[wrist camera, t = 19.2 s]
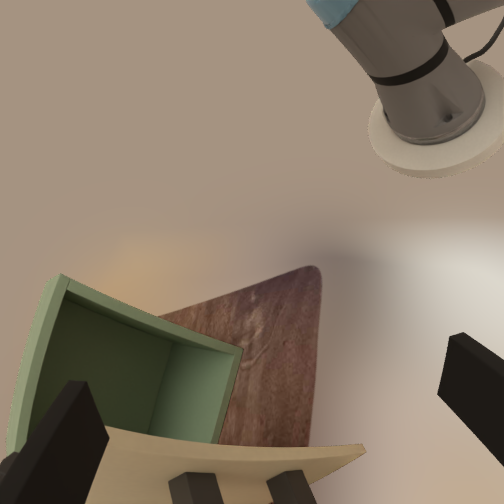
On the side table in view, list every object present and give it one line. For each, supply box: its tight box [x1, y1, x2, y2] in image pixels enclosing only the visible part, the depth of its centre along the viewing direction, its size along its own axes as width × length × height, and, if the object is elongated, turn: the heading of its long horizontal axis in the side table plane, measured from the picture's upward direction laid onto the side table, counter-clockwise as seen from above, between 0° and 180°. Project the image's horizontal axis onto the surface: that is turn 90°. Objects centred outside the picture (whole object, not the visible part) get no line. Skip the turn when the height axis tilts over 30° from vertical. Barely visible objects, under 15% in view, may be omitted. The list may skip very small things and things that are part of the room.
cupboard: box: [6, 274, 243, 456], centre depth 36 cm, size 18×26×24 cm
